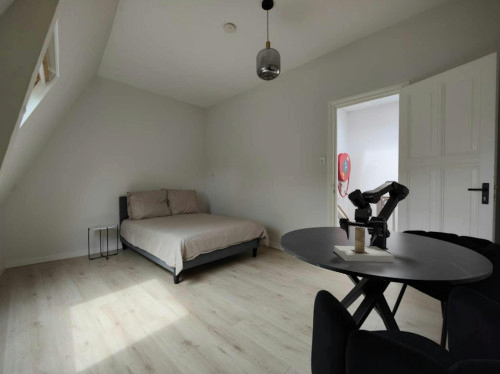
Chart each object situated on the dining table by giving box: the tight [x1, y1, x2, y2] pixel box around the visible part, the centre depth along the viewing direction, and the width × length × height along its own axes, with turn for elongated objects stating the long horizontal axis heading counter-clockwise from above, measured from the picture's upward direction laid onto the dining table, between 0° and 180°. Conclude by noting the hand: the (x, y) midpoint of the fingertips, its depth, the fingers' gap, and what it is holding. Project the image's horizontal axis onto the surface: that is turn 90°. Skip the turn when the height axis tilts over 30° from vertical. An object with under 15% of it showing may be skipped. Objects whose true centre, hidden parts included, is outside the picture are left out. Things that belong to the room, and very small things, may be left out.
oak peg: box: [354, 226, 366, 254], centre depth 102 cm, size 4×4×13 cm
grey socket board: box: [333, 245, 395, 263], centre depth 104 cm, size 20×14×2 cm
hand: (359, 241), depth 101 cm, fingers open, 9 cm apart
